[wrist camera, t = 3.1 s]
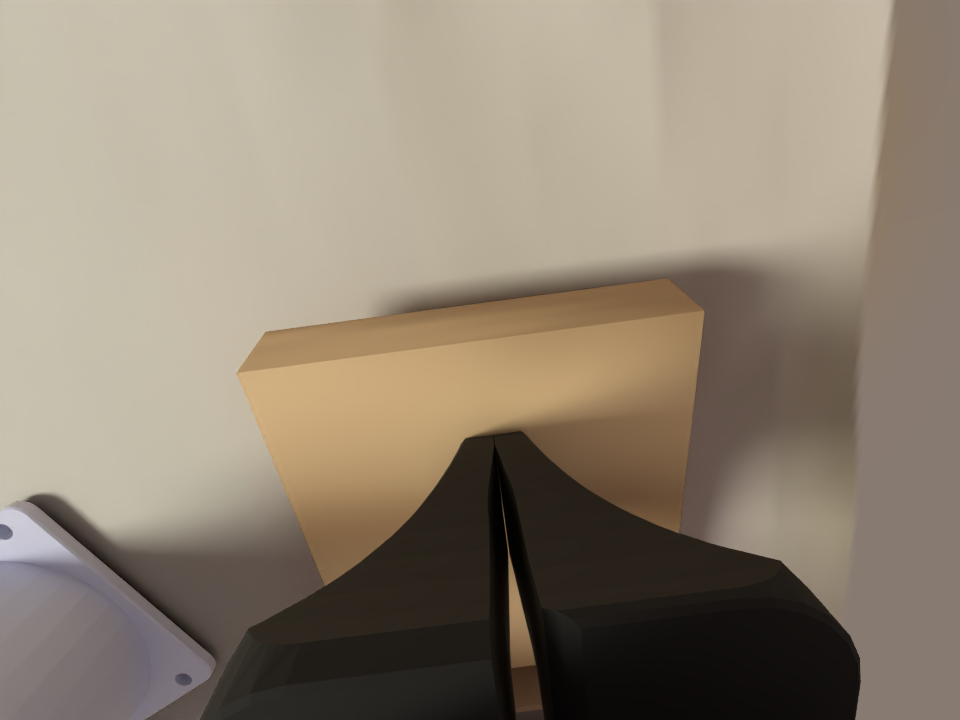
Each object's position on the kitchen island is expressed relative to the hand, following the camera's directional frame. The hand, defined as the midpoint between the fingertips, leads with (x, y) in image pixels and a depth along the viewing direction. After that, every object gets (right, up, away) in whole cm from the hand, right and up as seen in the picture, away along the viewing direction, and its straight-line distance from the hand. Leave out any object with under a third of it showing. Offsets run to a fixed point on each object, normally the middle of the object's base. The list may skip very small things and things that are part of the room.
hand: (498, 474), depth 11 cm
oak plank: (0, -1, +3) cm, 3 cm away
